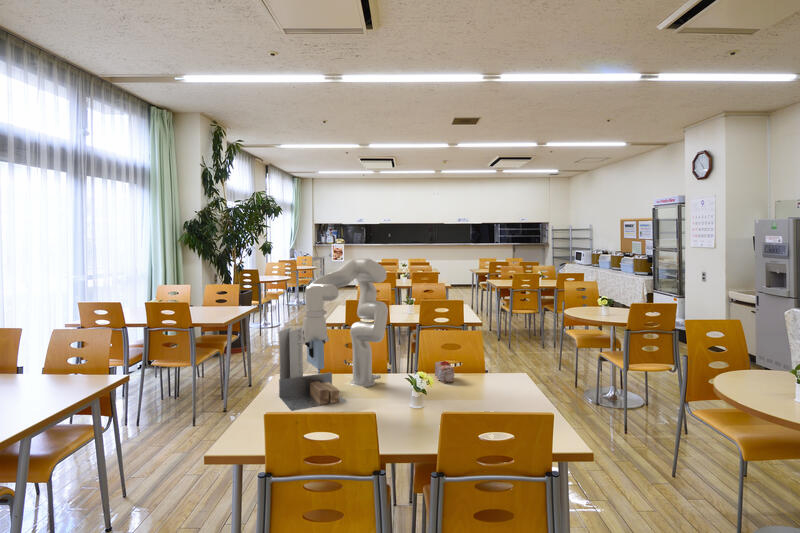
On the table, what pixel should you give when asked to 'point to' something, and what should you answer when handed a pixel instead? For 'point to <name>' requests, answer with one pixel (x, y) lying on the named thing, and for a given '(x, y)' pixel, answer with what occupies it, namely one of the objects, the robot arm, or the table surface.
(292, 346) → the brochure
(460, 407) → the table surface
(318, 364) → the sheet
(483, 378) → the table surface
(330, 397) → the offcut short
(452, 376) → the food item
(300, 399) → the rack
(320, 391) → the offcut tall
